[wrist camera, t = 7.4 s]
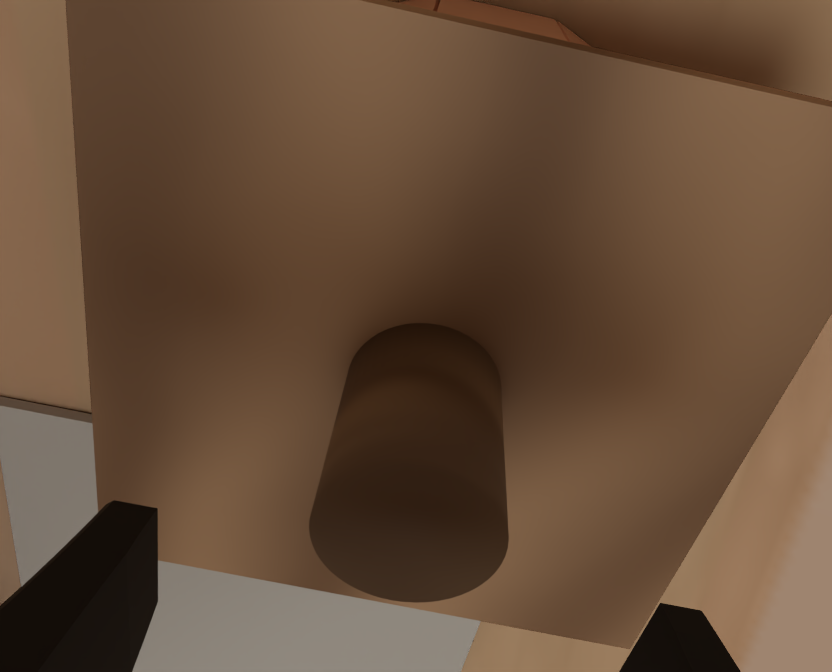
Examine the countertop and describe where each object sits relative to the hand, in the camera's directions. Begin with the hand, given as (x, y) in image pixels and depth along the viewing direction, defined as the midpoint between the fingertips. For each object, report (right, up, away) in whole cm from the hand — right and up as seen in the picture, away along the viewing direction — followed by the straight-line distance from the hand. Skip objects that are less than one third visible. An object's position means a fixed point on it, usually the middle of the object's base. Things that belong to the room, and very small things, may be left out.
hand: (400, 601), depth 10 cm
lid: (0, +3, +5) cm, 6 cm away
